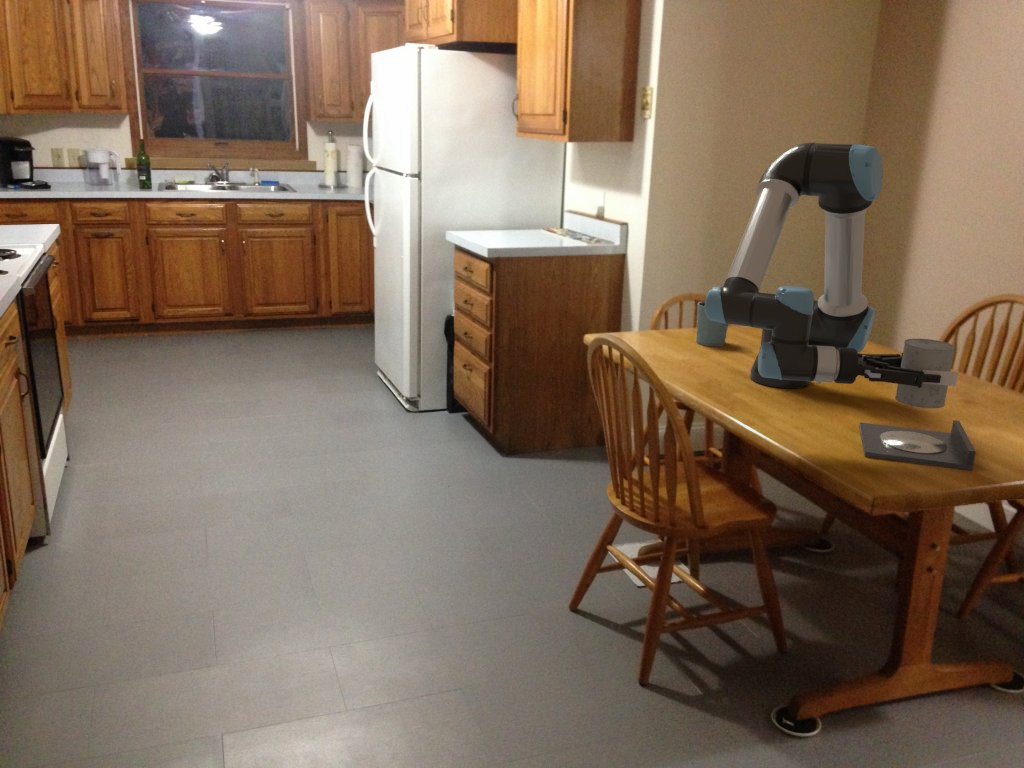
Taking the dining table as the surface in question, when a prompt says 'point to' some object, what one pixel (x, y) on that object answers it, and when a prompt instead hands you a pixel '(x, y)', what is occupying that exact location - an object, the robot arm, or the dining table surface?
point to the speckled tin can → (925, 358)
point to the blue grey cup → (709, 329)
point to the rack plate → (919, 445)
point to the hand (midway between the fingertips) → (947, 372)
